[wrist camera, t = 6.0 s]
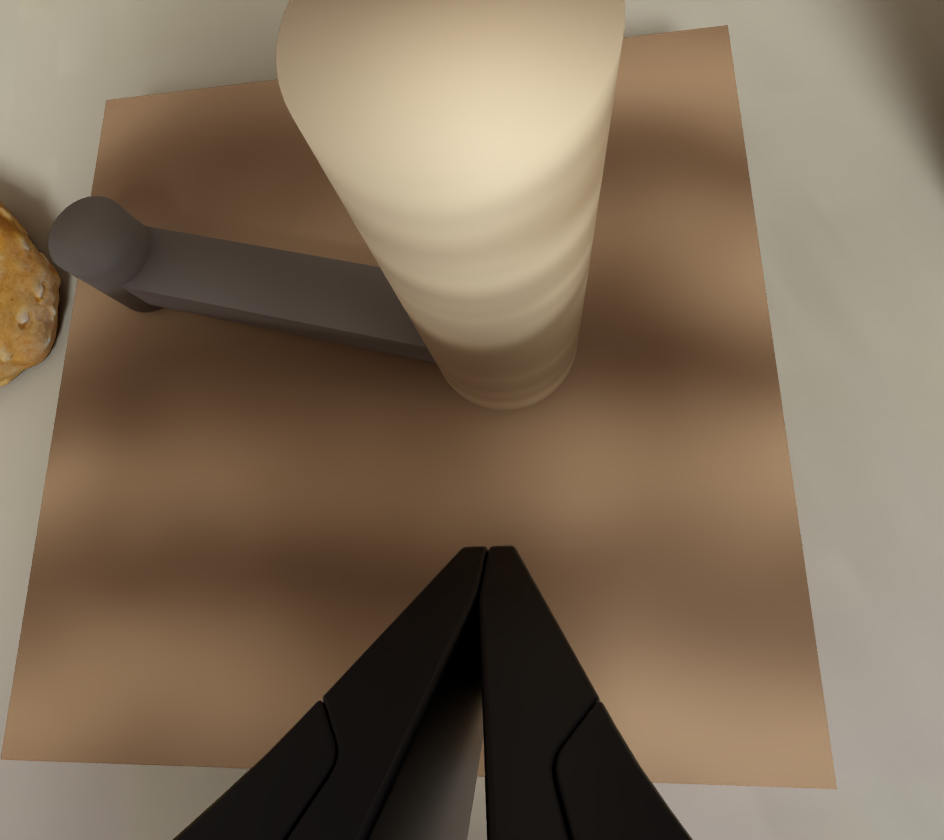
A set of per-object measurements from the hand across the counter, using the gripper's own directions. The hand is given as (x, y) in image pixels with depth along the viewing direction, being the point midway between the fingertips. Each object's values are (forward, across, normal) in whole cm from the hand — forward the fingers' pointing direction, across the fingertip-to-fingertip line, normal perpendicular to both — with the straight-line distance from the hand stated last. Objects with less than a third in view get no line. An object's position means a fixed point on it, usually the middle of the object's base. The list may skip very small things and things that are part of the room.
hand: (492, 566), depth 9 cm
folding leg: (+10, -5, +1) cm, 11 cm away
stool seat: (+11, -4, -3) cm, 12 cm away
